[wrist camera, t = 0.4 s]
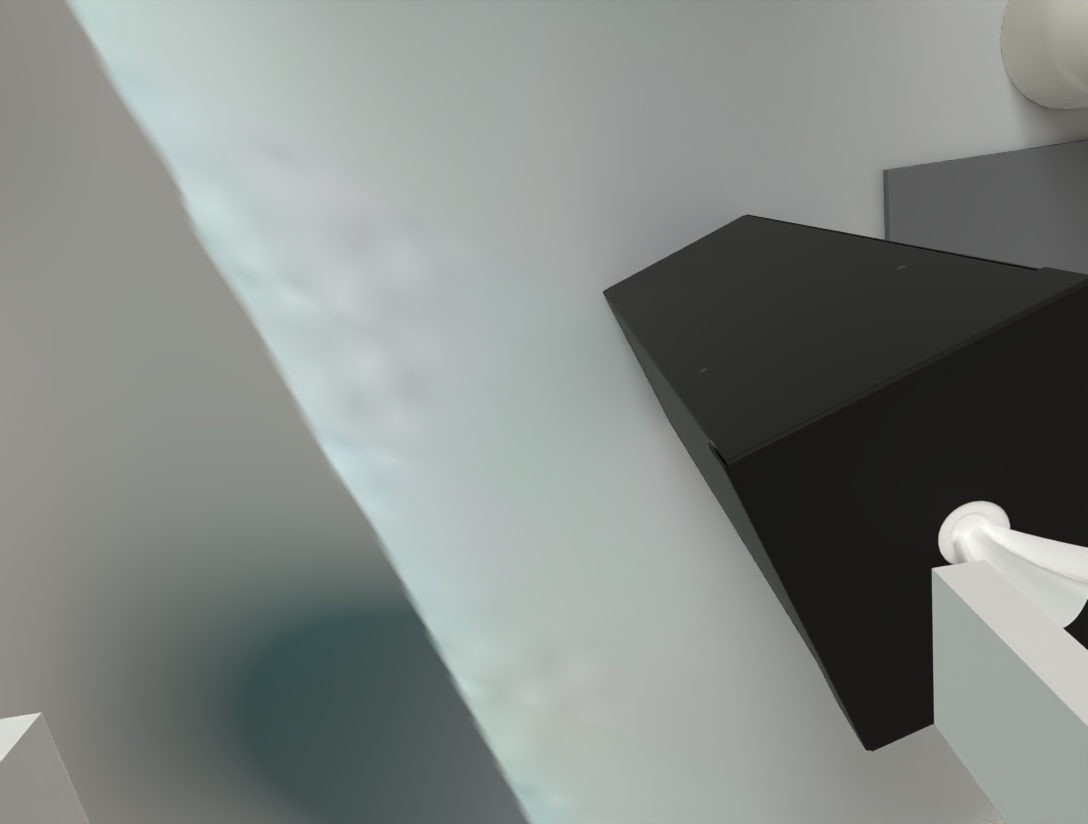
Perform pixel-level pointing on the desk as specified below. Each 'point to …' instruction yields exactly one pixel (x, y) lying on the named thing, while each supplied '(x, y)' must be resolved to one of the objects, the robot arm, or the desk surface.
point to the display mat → (996, 206)
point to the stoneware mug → (1047, 51)
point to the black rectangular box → (876, 433)
